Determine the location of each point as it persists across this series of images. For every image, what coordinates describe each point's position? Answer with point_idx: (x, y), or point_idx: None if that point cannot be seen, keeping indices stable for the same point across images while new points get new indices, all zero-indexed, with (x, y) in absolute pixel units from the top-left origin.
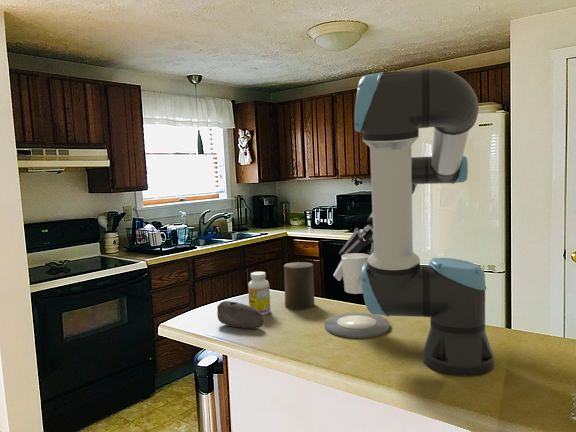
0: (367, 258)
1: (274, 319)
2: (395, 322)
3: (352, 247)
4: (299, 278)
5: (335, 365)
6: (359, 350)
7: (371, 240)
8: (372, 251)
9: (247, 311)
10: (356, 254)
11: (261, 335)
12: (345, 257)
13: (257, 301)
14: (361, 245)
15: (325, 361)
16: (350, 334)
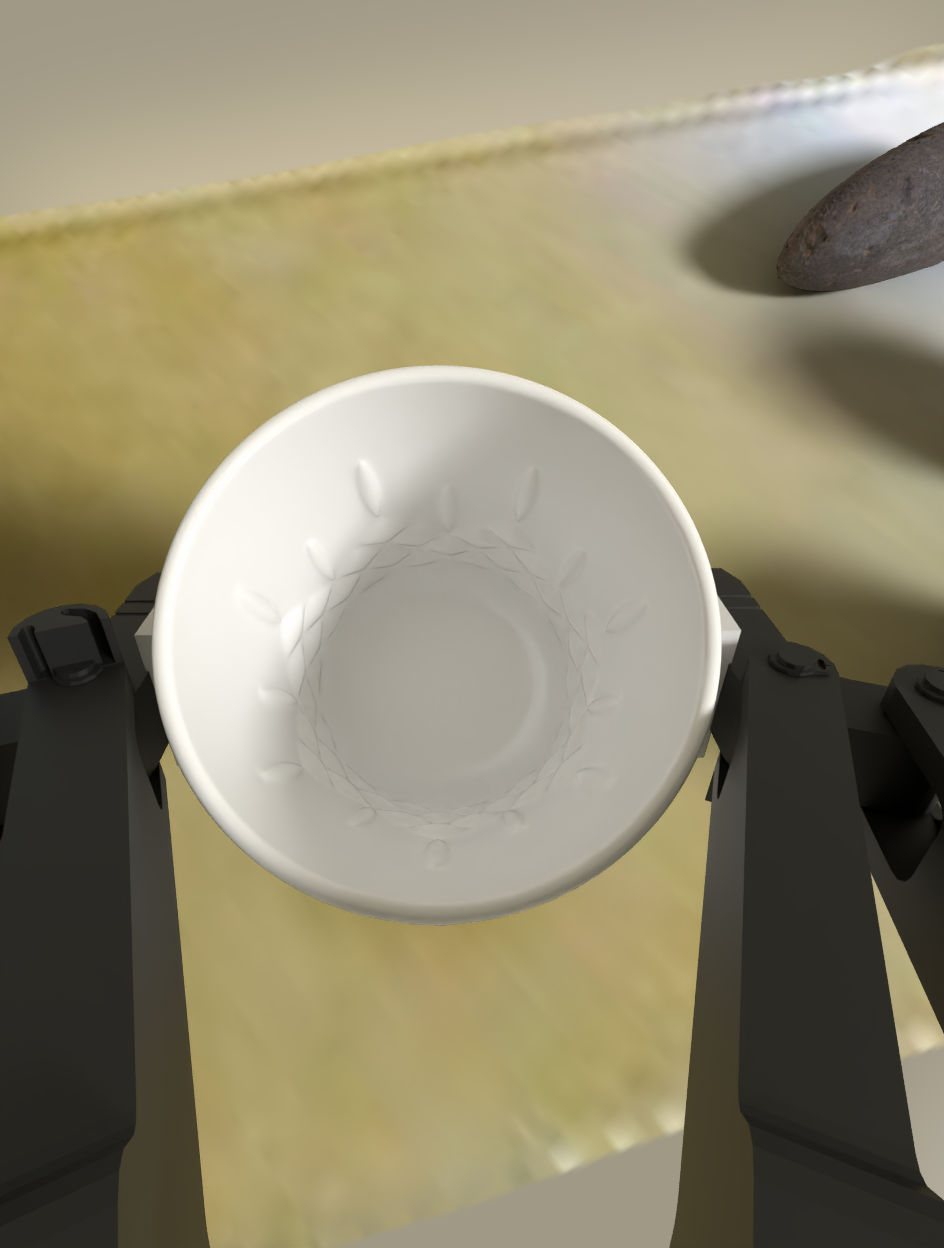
0: (161, 665)
1: (882, 441)
2: (315, 960)
3: (780, 825)
4: None
5: (147, 256)
6: (178, 448)
7: (115, 1162)
8: (61, 815)
9: (879, 157)
10: (617, 827)
11: (696, 250)
12: (673, 603)
13: None
14: (701, 1101)
15: (212, 255)
16: None
